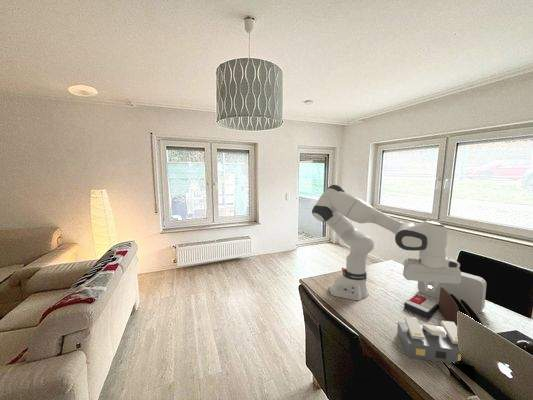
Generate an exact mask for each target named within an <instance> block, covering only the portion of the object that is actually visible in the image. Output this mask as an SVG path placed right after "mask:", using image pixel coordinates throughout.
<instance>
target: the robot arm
mask: <svg viewBox="0 0 533 400" xmlns="http://www.w3.org/2000/svg"><path fill="white" fill-rule="evenodd" d="M311 213H312V216H313V217H314V218H315V219H316V220H317V221H319V222H322V223H324V222H325V224H326V225H327V226H328V227H330V229H331V230H332V231H333V232H334V233H336V235H337V236H338V238H339V239H341V241H343V243H345V244H346V245H347V246H348V247H350V248H349V249H350V251H349V254H348V255H347V256H346V257H345V258H346V259H345V261H346V263H345V264H346V267H343V266H342V267H341V272H342V274H339V275H338V276H337V277H335V278H334V280H333V283H331V284H329V292H331V293H330V294H331V295H332V296H333V297H339V298H343V299H347V300H348V299H349V300H354V301H361V300H362V299H365V298H367V297H368V296H369V292H368V288H367V277H368V276H367V273H368V272H367V270H366V269H367V268H366V267H367V258H368V255H369V254H370V253H371V252H372V251H373V250H374V247H375V242H374V239H372V238H371V236H370V235H368V234H366V233H364V232H362V231H361V230H359V229H357V228H356V227H355V226H354V225H353V222H355V223H358V224H374V225H378V226H380V227H381V228H383V229H385V230H387V231H390V232H391V233H393V234H394V241H395V244H396V245H397V246H398V248H399V249H402V250H404V251H414V252H415V251H419V253H418V254H419V255H418V258H409V257H408V258H407V259H405V260H404V262H403V269H402V270H403V271H402V275H403V278H404V279H405V280H407V281H413V282H414V281H415V282H416V281H417V282H418V281H423V283H424V285H425V290H426V291H432V292H435V288H436V287H437V286H438V283H451V284H459V283H460V282H461V272H462V271H461V269H460V267H461V263H460V262H458V261H457V260H456V259H454V258H452V257H450V256H447V253H446V247H447V245H448V232H447V231H448V229H447V228H446V226H445V225H444V224H442V223H441V222H437V221H434V220H433V221H432V220H423V221H422V222H420V223H418V224H415V223H414V222H411V221H410V222H409V221H404V220H403V221H401V220H399V219H397V218H394V217H392V216H390V215H388V214H386V213H384V212H382V211H380V210H378V209H377V208H375V207H374V206H372V205H371V204H369V203H368V202H366V201H365V200H363V199H361V198H359V197H357V196H355V195H353V194H351V193H348V192H345V190H344V189H343V187H341V186H340V185H338V184H331V185H329V186H328V187H327V188H326V190H325V191H324V192H323V193H322V194H321V196H319V198H318V200H317V201H316V203H315V205H314V206H313V207H312V210H311ZM428 282H433V284H432V285H431V286H428V285H427V284H428Z"/></svg>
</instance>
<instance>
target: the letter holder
mask: <svg viewBox="0 0 533 400" xmlns="http://www.w3.org/2000/svg"><path fill="white" fill-rule="evenodd" d="M437 311H438V312H440V314H441V316H442V318H443V319H444V321H450V322H454V323H455V325H456V326H457V312H458V311H460V312H462V313H464V314H466V315H468V316H469V317H471V318H473V319H474V320H475V321H477V322H479V323H481V324H482V325H483V326H484V324H483V322H482V320H481V319H480V317H479V316H478V315H477V313H475V312H474V311H473V310H472V308H471V307H470V306H469V305H468V304H467V303H466V302H465V301H464V300H462V299H461V302H460V301H459V300H458V299H457V298H456V297H455V296H454V295H453V294H449V293H448V292H447V291H446V290H445V289H444V288H443V287H441V288H440V295H439V299H438V310H437Z"/></svg>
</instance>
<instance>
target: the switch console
mask: <svg viewBox="0 0 533 400" xmlns="http://www.w3.org/2000/svg"><path fill="white" fill-rule="evenodd" d="M422 324H423V323H422ZM422 324H420V323H419V325H420V327H421V330H422V332H423V334H424V336H425V339H424V340H420V339H412V338H411V335H410V333H409V330H408V327H407V325H406V322H405V321H404V322H403V321H397V330H396V331H397V336H398V338H399V340H400V342H401V345H402V347H403V349H404V351H405V353H406V355H407V357H408V358H411V359H413V358H414V359H420V360H427V361H434V362H438V363H439V362H441V363H445V364H451V363H450V362H457V361H460V360H461V353H460V350H459V348H458V344H453V343H452V342H451V340H450V338H449V336H448V335H447V333H446V331H445V330H444V328H443V326H438V325H435V326H436V327H437V328H439V329H441V330H443V331H444V332H445V335H446V337H445V336H437V335H432V334H431V333H429V332H428V331H426V330H425V329H423V327H422Z"/></svg>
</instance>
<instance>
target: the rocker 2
mask: <svg viewBox="0 0 533 400" xmlns="http://www.w3.org/2000/svg"><path fill="white" fill-rule="evenodd" d="M436 326H437V325H433V324H424V323H422V327H423V329H425V330H426V331H428V332H429V333H431V334H432V335H437V336H445V337H446V335H445V332H444V331H443V330H441V329H439V328H437V327H436Z"/></svg>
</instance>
